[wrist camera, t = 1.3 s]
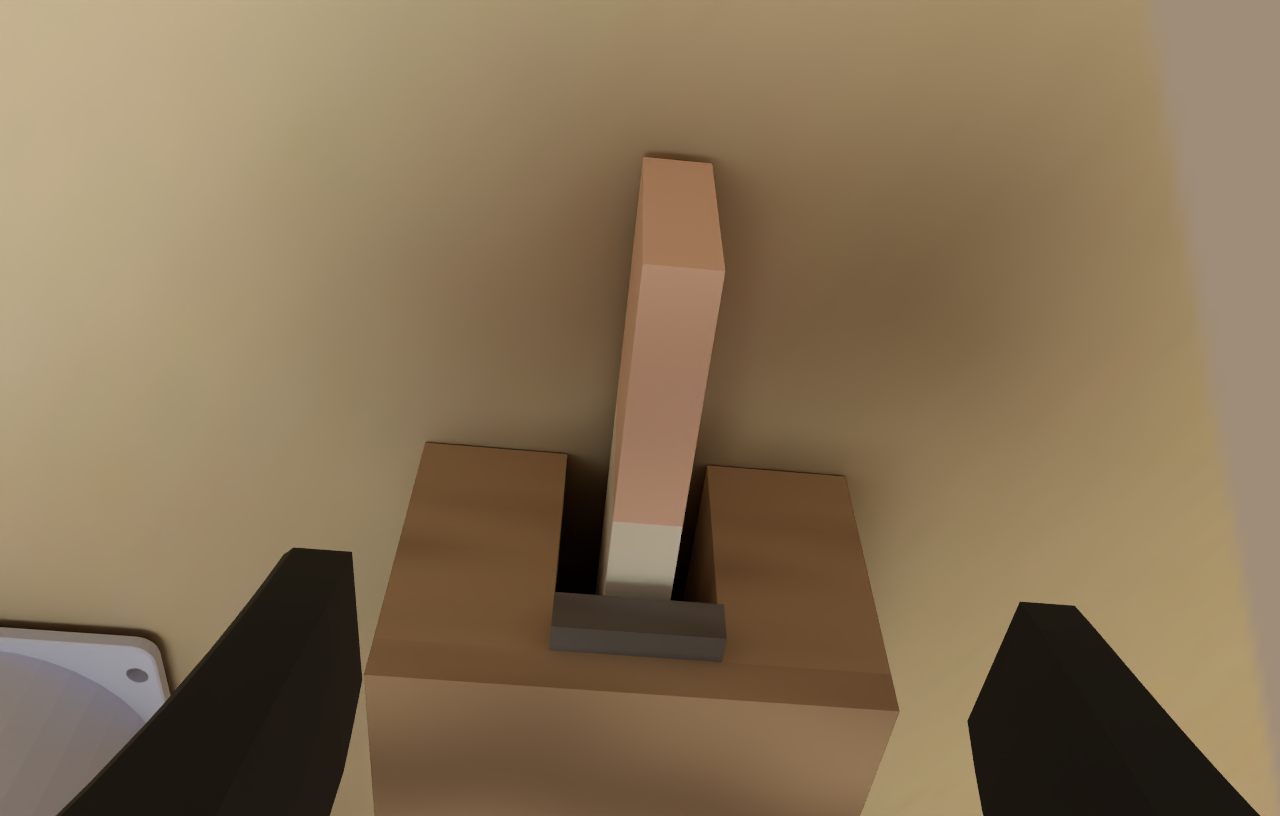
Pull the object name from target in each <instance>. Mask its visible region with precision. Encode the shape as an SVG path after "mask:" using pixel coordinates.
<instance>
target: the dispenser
mask: <svg viewBox="0 0 1280 816" xmlns="http://www.w3.org/2000/svg"><path fill="white" fill-rule="evenodd" d="M566 465H567V454H560V453H547V452H535V451H523V450H510V449H498V448H485V447H473V446H461V445H448V444H436V443H425V446H424V450H423V454H422V457H421V461H420V465H419V469H418V472H417V476H416V480H415V484H414V488H413V491H412V495H411V499H410V503H409V507H408V510H407V514H406V518H405V522H404V525H403V529H402V533H401V537H400V541H399V544H398V548H397V552H396V556H395V560H394V563H393V567H392V571H391V575H390V578H389V582H388V586H387V590H386V594H385V597H384V601H383V605H382V609H381V613H380V616H379V620H378V624H377V628H376V631H375V635H374V639H373V643H372V647H371V650H370V654H369V658H368V662H367V666H366V669H365V673H364V681H365V694H366V707H367V721H368V734H369V747H370V760H371V774H372V787H373V800H374V813H375V816H860V815H861V812H862V809H863V807H864V804H865V801H866V799H867V796H868V793H869V791H870V788H871V785H872V783H873V780H874V778H875V775H876V772H877V770H878V767H879V764H880V762H881V759H882V756H883V754H884V751H885V749H886V746H887V743H888V741H889V738H890V735H891V733H892V730H893V727H894V725H895V722H896V720H897V717H898V714H899V712H900V711H899V707H898V703H897V698H896V694H895V690H894V685H893V681H892V677H891V672H890V668H889V664H888V659H887V655H886V651H885V646H884V642H883V638H882V634H881V629H880V625H879V621H878V616H877V612H876V608H875V603H874V599H873V595H872V590H871V586H870V582H869V577H868V573H867V569H866V565H865V560H864V556H863V552H862V547H861V543H860V539H859V534H858V530H857V526H856V521H855V517H854V513H853V508H852V504H851V500H850V495H849V491H848V487H847V483H846V478H845V476H832V475H820V474H807V473H795V472H783V471H770V470H758V469H745V468H733V467H721V466H708V465H707V470H706V475H705V481H704V486H703V492H702V498H701V503H700V509H699V515H698V520H697V526H696V531H695V537H694V543H693V548H692V554H691V560H690V565H689V571H688V576H687V582H686V588H685V593H684V599H683V601H671V600H657V599H643V598H630V597H616V596H602V595H589V594H575V593H562V592H557V580H558V567H559V554H560V541H561V529H562V516H563V503H564V490H565V478H566Z"/></svg>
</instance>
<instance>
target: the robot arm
mask: <svg viewBox="0 0 1280 816" xmlns="http://www.w3.org/2000/svg"><path fill="white" fill-rule="evenodd" d="M361 683H362V672H361V660H360V647H359V635H358V622H357V610H356V597H355V585H354V572H353V559H352V552H345V551H332V550H318V549H305V548H292V549H291V550H290V551H288V552H287V553H285V554H284V555H283V556H282V558H281V559H280V560H279V562H278V563H277V565H276V566H275V567H274V569H273V570H272V571H271V573H270V574H269V576H268V577H267V578H266V580H265V581H264V582H263V584H262V585H261V586H260V588H259V589H258V590H257V591H256V593H255V594H254V595H253V597H252V598H251V599H250V601H249V602H248V603H247V605H246V606H245V607H244V608H243V610H242V611H241V612H240V613H239V615H238V616H237V617H236V619H235V620H234V621H233V622H232V623H231V625H230V626H229V627H228V628H227V630H226V631H225V632H224V633H223V635H222V636H221V637H220V638H219V640H218V641H217V642H216V643H215V644H214V646H213V647H212V648H211V649H210V651H209V652H208V653H207V654H206V655H205V656H204V658H203V659H202V660H201V661H200V662H199V663H198V665H197V666H196V667H195V668H194V669H193V670H192V671H191V673H190V674H189V675H188V676H187V677H186V678H185V680H184V681H183V682H182V683H181V684H180V685H179V687H178V688H177V689H176V690H175V691H174V692H173V693H172V695H170V691H169V687H168V683H167V679H166V674H165V670H164V666H163V662H162V658H161V654H160V651H159V649H158V647H157V646H156V645H155V644H154V643H153V642H151V641H150V640H147V639H145V638H141V637H136V636H121V635H107V634H93V633H78V632H64V631H49V630H35V629H21V628H6V627H0V816H330V813H331V809H332V806H333V803H334V800H335V797H336V794H337V791H338V787H339V784H340V781H341V778H342V774H343V771H344V767H345V762H346V757H347V753H348V748H349V743H350V738H351V734H352V729H353V724H354V719H355V714H356V708H357V703H358V698H359V693H360V688H361ZM968 727H969V734H970V741H971V747H972V754H973V761H974V767H975V773H976V779H977V784H978V790H979V795H980V801H981V806H982V812H983V815H984V816H1260V815H1259V814H1258V813H1257V812H1256V811H1255V810H1254V809H1253V808H1252V807H1251V806H1250V805H1249V804H1248V802H1247V801H1246V800H1245V799H1244V798H1243V797H1242V796H1241V795H1240V794H1239V793H1238V792H1237V791H1236V790H1235V789H1234V788H1233V786H1232V785H1231V784H1230V783H1229V782H1228V781H1227V780H1226V779H1225V778H1224V777H1223V776H1222V774H1221V773H1220V772H1219V771H1218V770H1217V769H1216V768H1215V767H1214V766H1213V765H1212V763H1211V762H1210V761H1209V760H1208V759H1207V758H1206V757H1205V756H1204V754H1203V753H1202V752H1201V751H1200V750H1199V749H1198V748H1197V747H1196V746H1195V744H1194V743H1193V742H1192V741H1191V740H1190V739H1189V738H1188V737H1187V735H1186V734H1185V733H1184V732H1183V731H1182V730H1181V729H1180V727H1179V726H1178V725H1177V724H1176V723H1175V722H1174V721H1173V719H1172V718H1171V717H1170V716H1169V715H1168V714H1167V712H1166V711H1165V710H1164V709H1163V708H1162V707H1161V705H1160V704H1159V703H1158V702H1157V701H1156V700H1155V699H1154V697H1153V696H1152V695H1151V694H1150V693H1149V692H1148V690H1147V689H1146V688H1145V687H1144V686H1143V685H1142V683H1141V682H1140V681H1139V680H1138V679H1137V678H1136V676H1135V675H1134V674H1133V673H1132V672H1131V670H1130V669H1129V668H1128V667H1127V666H1126V665H1125V663H1124V662H1123V661H1122V660H1121V659H1120V658H1119V656H1118V655H1117V654H1116V653H1115V652H1114V650H1113V649H1112V648H1111V647H1110V646H1109V645H1108V643H1107V642H1106V641H1105V640H1104V639H1103V638H1102V636H1101V635H1100V634H1099V633H1098V632H1097V631H1096V629H1095V628H1094V627H1093V626H1092V625H1091V624H1090V623H1089V621H1088V620H1087V619H1086V618H1085V617H1084V616H1083V615H1082V614H1081V612H1080V611H1079V610H1078V609H1077V608H1076V607H1075V606H1070V605H1056V604H1043V603H1030V602H1020V603H1019V605H1018V607H1017V610H1016V612H1015V614H1014V617H1013V619H1012V621H1011V623H1010V626H1009V628H1008V630H1007V632H1006V635H1005V637H1004V639H1003V642H1002V644H1001V646H1000V648H999V651H998V653H997V655H996V657H995V660H994V662H993V664H992V667H991V669H990V671H989V673H988V676H987V678H986V680H985V682H984V685H983V687H982V689H981V692H980V694H979V696H978V698H977V701H976V703H975V705H974V708H973V710H972V712H971V714H970V717H969V719H968Z"/></svg>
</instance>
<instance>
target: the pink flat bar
mask: <svg viewBox="0 0 1280 816" xmlns="http://www.w3.org/2000/svg"><path fill="white" fill-rule="evenodd" d="M724 277H725V264H724V256H723V248H722V240H721V232H720V223H719V215H718V207H717V199H716V191H715V183H714V174H713V166H712V164H711V163H701V162H691V161H680V160H670V159H660V158H649V157H643V162H642V171H641V180H640V190H639V199H638V208H637V217H636V226H635V235H634V245H633V254H632V263H631V272H630V281H629V291H628V300H627V309H626V318H625V327H624V337H623V346H622V355H621V364H620V373H619V383H618V392H617V401H616V410H615V419H614V428H613V438H612V447H611V456H610V465H609V474H608V484H607V493H606V502H605V511H604V520H603V530H602V539H601V548H600V557H599V566H598V575H597V585H596V594H595V595H602V596H616V597H630V598H643V599H657V600H670V599H671V593H672V587H673V581H674V575H675V569H676V563H677V557H678V551H679V545H680V539H681V533H682V527H683V521H684V515H685V509H686V503H687V497H688V491H689V485H690V480H691V474H692V468H693V462H694V456H695V450H696V444H697V438H698V432H699V426H700V420H701V414H702V408H703V402H704V396H705V390H706V384H707V378H708V372H709V366H710V360H711V354H712V348H713V342H714V336H715V330H716V324H717V318H718V313H719V307H720V301H721V295H722V289H723V283H724Z"/></svg>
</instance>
